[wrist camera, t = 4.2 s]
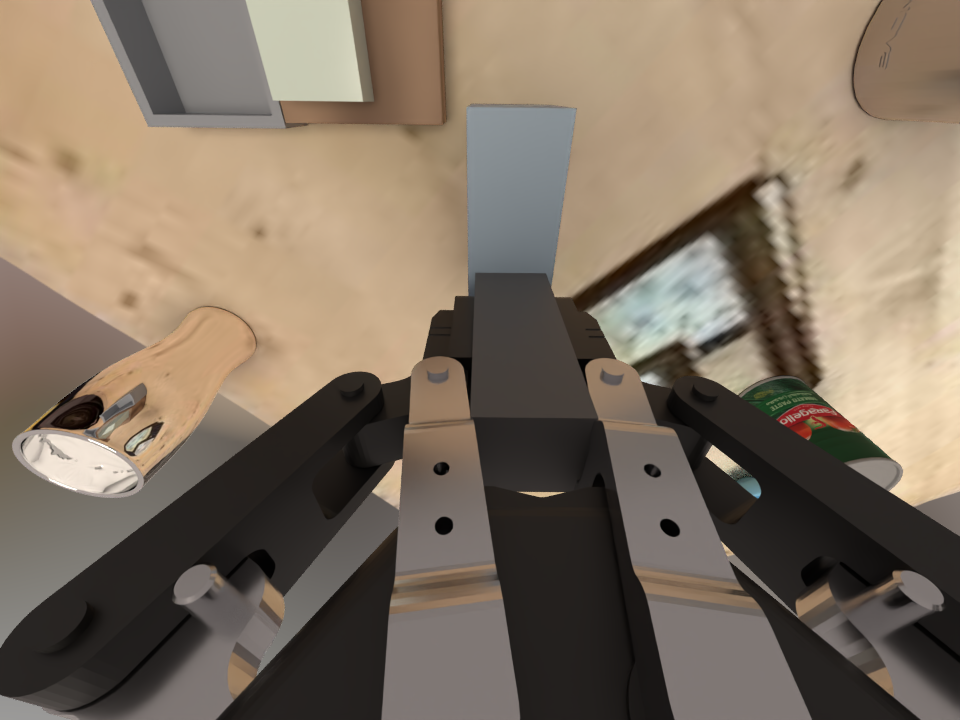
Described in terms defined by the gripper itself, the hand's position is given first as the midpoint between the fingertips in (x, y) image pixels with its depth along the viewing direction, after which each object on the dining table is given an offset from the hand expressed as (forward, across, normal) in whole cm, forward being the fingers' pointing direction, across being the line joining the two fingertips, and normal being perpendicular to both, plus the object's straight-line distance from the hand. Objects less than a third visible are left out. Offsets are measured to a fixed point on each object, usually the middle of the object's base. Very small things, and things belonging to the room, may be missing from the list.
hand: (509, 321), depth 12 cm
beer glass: (+18, +25, +12) cm, 33 cm away
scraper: (+6, 0, 0) cm, 6 cm away
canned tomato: (+19, -32, +21) cm, 42 cm away
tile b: (+14, +9, -8) cm, 19 cm away
